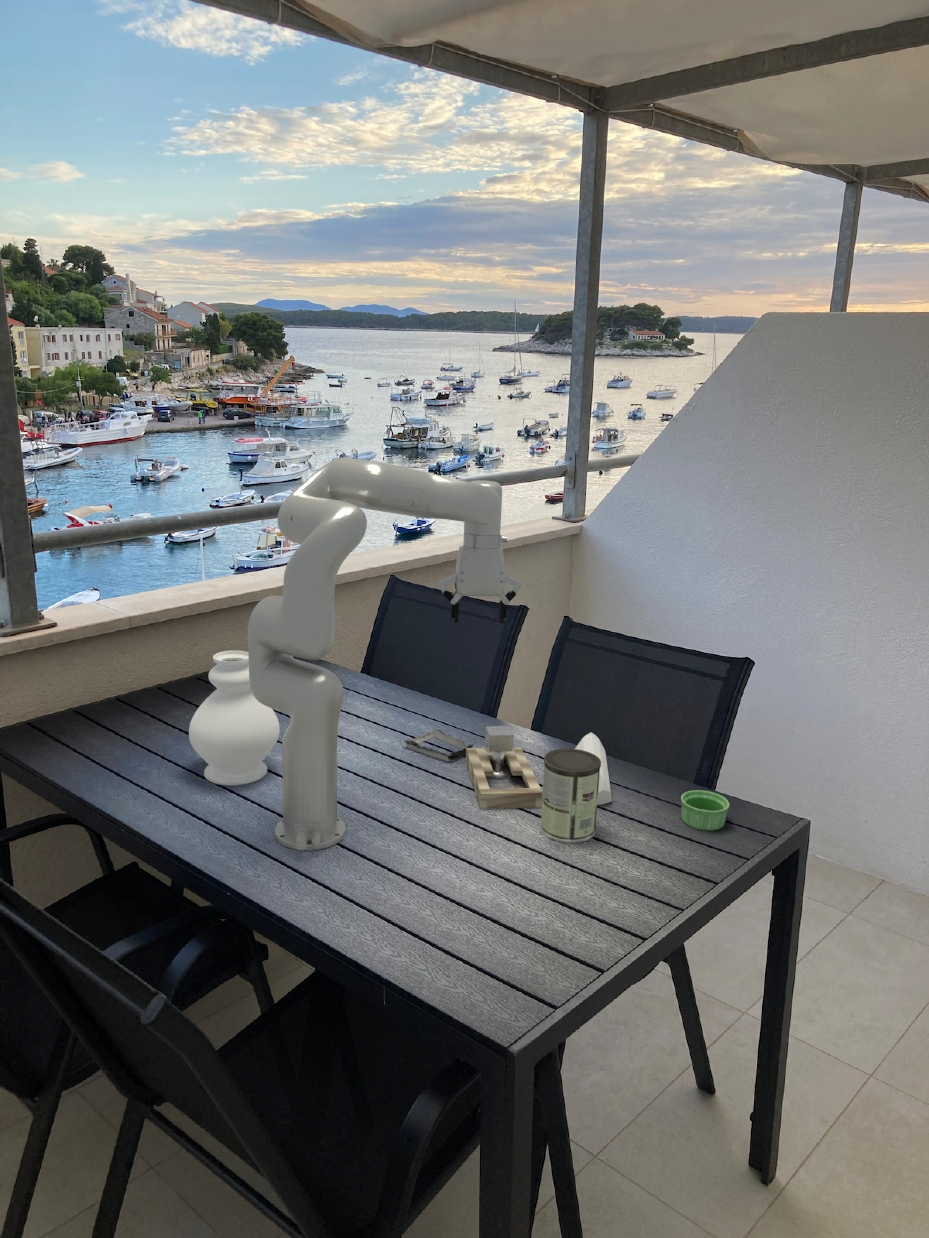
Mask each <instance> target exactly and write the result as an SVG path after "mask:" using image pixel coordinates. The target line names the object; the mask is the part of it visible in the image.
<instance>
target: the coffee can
mask: <svg viewBox="0 0 929 1238" xmlns="http://www.w3.org/2000/svg"><path fill="white" fill-rule="evenodd" d="M543 762H544V764H543V765H544V766H543V781H542V782H543V783H542V807H541V818H540V820H541V821H540V827H539V828H540V831H541V833H542V834H544V836H545V837H547V838H549V839H551V840H553V841H557V842H562V843H567V844H569V843H570V844H578V843H583V842H586V841H590V840H591V839H592V838H593V837H594V836H595V835H596V827H597V826H596V823H597V811H598V810H597V809H598V805H597V799H598V787H599V773H600V767H601V760H600V759H599V758H598V757H597V756H596V755H594V754H592V753H590V752H587V751H583V750H578V749H575V748H559V749H553V750H551V751H548V752H547V753H545V754H544V757H543Z"/></svg>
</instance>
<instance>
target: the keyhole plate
mask: <svg viewBox="0 0 929 1238" xmlns="http://www.w3.org/2000/svg"><path fill="white" fill-rule="evenodd" d="M492 754H493V752H489V751H488V749H487V747H473V748H466V756H465V764H466V768H467V771H468V775H469V776H470V777H469V778H470V780H471V784H472V786H473V789H474V793H475V796H476V800H477V803H478V806H479V810H493V809H494V810H495V809H496V810H497V809H499V810H500V809H535V808H541V809H542V797H543V790H542V789H541V787H540V784H539V782H538V779H537V778H536V776H535V773H534V772H533V770H532V768H531V764H530V763H529V761H528V759H527V757H526V754H525V753H524V750H523V748H522V747H521V746H520V747H518V746H517V747H516V746H513V751H508V752H504V763H503V764H507V765H508V766H509V768H510V770H511V773H512V774H511V776H521V778H522V780H523V782H524V785H525V787H521V788H520V787H518V788H517V787H515V788H491V787H490V786H489V783H488V781H487V777H486V776H493V769H492V766H491V763H492Z"/></svg>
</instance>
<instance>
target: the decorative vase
mask: <svg viewBox="0 0 929 1238" xmlns="http://www.w3.org/2000/svg"><path fill="white" fill-rule="evenodd" d="M212 661H213V663H214V664H215V665H214V666H213V667H212V668H211V669H210V671H209V672H208V680H209V682H210V684H211V685H213V686H214V687H215V688H216V689H214V691H213V692H211V693H210V695H208V696H207V697H206V699H204V701H203V702H202V703H201V704H200V706H199V707H198V708H197V710H196V711H195V712H194V714H193V716H192V718H191V720H190V723H189V727H188V728H189V729H188V738H189V743H190V744H191V746H192V749H194V751H195V752H196V754H198V756H200V757H201V759H203V761H205V763H207V764H208V765H206V767H205V768H204V770H203V776H204V777H205V779H206V780H207V781H209V782H210V783H212V784H216V785H223V786H239V785H240V786H241V785H247V784H251V783H254V782H256V781H258V780H261V779H262V778H264V777H265V775H267V773H268V766H267V764H266V763H265V762H264V759H265V758H266V757H267V756H268V755H269V754H270V752H271V751H272V749H274V747H275V746H276V744H277V742H278V739H279V737H280V724H279V719H278V716H277V713H275V710H274V709H272V708H269V707H267V706H265V705H263V704H261V703H259V702H258V701H257V700H256V699H255V697H254V696H253V694H252V691H251V687H250V681H249V655H248V651H245V650H237V649H236V650H235V649H234V650H223V651H220V652H216V653H215V654H213V656H212Z"/></svg>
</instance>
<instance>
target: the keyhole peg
mask: <svg viewBox="0 0 929 1238" xmlns="http://www.w3.org/2000/svg"><path fill="white" fill-rule="evenodd" d="M484 743H485V746H486V748H487V749H488V751H489V752H493V754H492V763H491V766H492V769H493V776H485V777H486V778H488V779H492V780H505V779H506V780H507V779H508V778H510V777H511V776H512V773H511V770H510V768H509V766H508V764H507V763H504V752H508V751H513V747H514V733H513V731H512V729H511V727H510V726H509V725H491V726H488V725H487V726H485V734H484Z"/></svg>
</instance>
